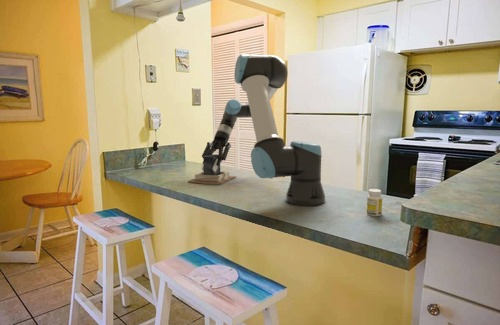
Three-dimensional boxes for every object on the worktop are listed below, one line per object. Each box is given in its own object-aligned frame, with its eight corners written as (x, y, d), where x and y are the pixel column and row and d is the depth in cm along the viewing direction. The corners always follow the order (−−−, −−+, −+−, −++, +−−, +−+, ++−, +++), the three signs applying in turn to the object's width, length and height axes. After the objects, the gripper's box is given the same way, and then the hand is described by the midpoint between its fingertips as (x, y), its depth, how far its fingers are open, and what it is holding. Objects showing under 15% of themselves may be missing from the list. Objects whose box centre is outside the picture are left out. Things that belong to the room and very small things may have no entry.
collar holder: (219, 185, 159) (219, 178, 159) (187, 182, 166) (187, 175, 166) (235, 177, 175) (235, 171, 175) (206, 175, 183) (206, 169, 182)
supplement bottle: (378, 211, 116) (379, 188, 115) (383, 216, 111) (385, 191, 110) (364, 212, 116) (365, 188, 114) (369, 216, 111) (370, 192, 110)
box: (213, 177, 166) (212, 156, 164) (203, 176, 168) (202, 156, 166) (221, 174, 173) (220, 154, 171) (211, 173, 175) (210, 154, 174)
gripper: (240, 139, 178) (227, 175, 166) (210, 138, 185) (195, 173, 173) (236, 130, 172) (222, 167, 160) (205, 130, 180) (189, 164, 168)
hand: (208, 170), depth 167 cm, fingers closed on box, 6 cm apart
